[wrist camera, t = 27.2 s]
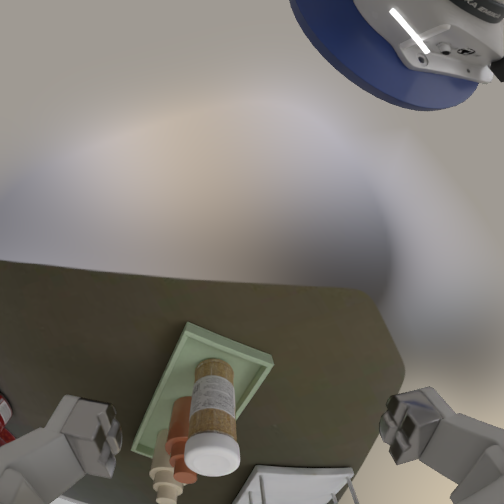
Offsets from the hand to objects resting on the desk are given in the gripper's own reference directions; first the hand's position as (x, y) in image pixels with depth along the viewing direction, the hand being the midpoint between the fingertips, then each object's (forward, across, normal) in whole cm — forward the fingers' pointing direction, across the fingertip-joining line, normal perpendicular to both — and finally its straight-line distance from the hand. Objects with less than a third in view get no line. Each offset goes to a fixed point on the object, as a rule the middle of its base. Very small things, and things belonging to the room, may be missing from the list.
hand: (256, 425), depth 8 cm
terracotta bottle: (+23, -5, -21) cm, 31 cm away
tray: (+23, -5, -21) cm, 32 cm away
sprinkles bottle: (+23, -2, -15) cm, 27 cm away
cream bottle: (+23, -8, -27) cm, 36 cm away
